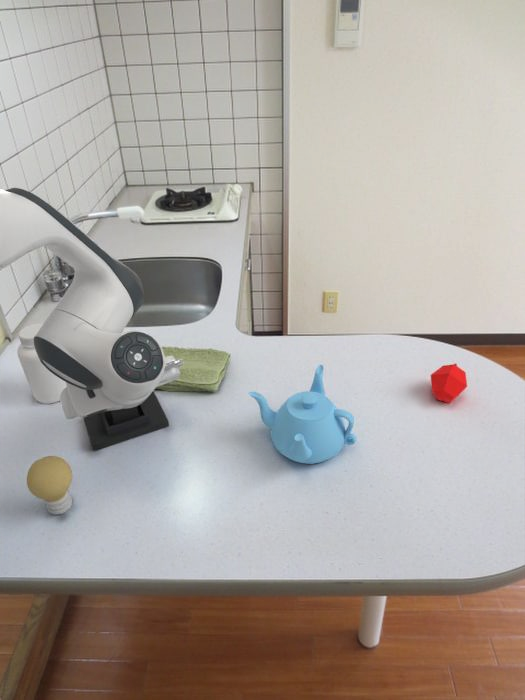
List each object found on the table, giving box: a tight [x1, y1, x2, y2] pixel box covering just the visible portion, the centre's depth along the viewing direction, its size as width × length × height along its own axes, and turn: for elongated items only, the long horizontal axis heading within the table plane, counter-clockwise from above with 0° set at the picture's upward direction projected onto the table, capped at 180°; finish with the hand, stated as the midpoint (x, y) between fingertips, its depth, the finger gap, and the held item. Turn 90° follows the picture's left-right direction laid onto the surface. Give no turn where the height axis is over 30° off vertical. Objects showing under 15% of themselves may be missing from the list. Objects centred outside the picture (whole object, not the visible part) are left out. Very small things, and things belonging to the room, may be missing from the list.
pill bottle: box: [16, 323, 67, 405], centre depth 103 cm, size 8×8×15 cm
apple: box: [430, 363, 468, 404], centre depth 101 cm, size 7×7×8 cm
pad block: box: [110, 406, 139, 425], centre depth 96 cm, size 4×4×9 cm
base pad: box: [83, 390, 170, 452], centre depth 98 cm, size 14×10×3 cm
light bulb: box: [26, 455, 73, 516], centre depth 80 cm, size 6×6×10 cm
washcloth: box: [155, 346, 232, 393], centre depth 110 cm, size 13×18×3 cm
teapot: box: [248, 364, 357, 465], centre depth 90 cm, size 15×15×10 cm
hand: (118, 394), depth 96 cm, fingers closed on pad block, 5 cm apart
